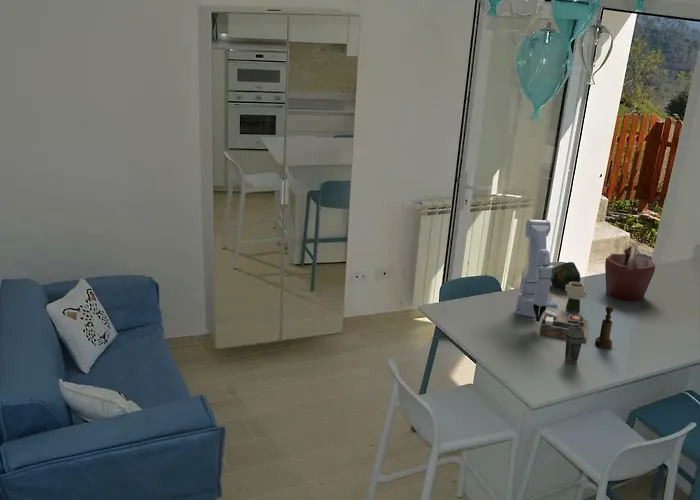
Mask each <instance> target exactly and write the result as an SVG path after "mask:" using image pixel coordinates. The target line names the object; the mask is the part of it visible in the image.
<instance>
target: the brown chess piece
mask: <svg viewBox="0 0 700 500" xmlns="http://www.w3.org/2000/svg"><path fill="white" fill-rule="evenodd" d="M613 311H614V307H613V305H611V304H610V305H606V307H605V312H606V314H605V319H602V322H601V325H600V332H599V333H600V334H599V336H598V337H596V338H595V340H594V345H595V346H596V347H598V348H600V349H606V350H607V349H611V348H612V346H613V341H612V340H611V338H610V336H611V331H612V325H613V321H612V320H611V318H612V316H611V314H612V313H613Z"/></svg>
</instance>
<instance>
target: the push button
mask: <svg viewBox="0 0 700 500" xmlns="http://www.w3.org/2000/svg"><path fill="white" fill-rule="evenodd" d="M578 316H579V315H575V316H572V319H571V320H574V321H579V319H580V317H578ZM580 322H581V320H580Z"/></svg>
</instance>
